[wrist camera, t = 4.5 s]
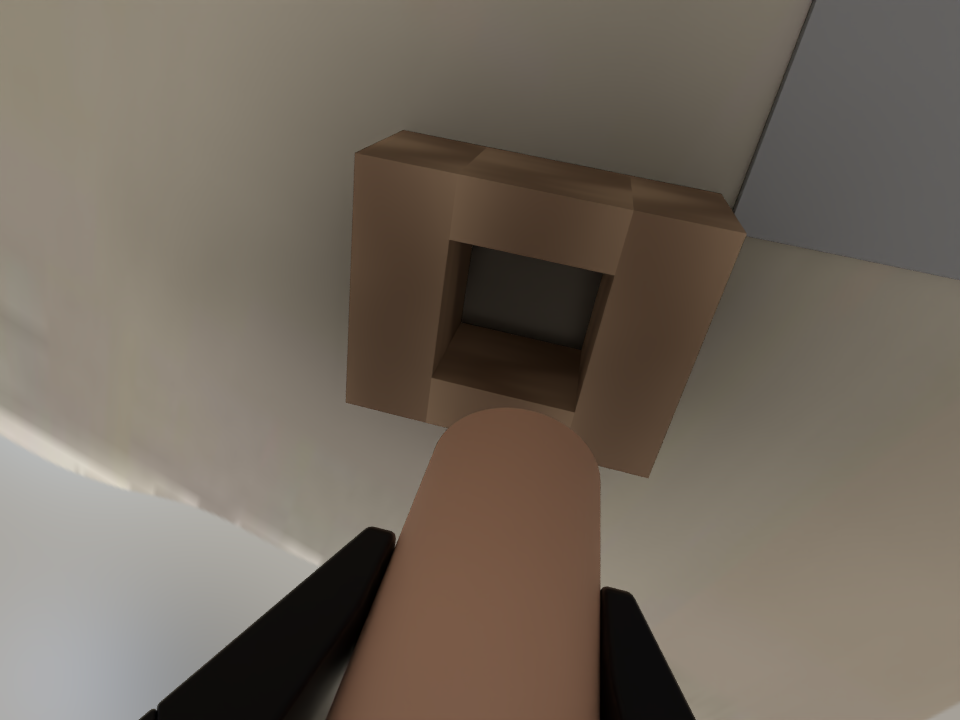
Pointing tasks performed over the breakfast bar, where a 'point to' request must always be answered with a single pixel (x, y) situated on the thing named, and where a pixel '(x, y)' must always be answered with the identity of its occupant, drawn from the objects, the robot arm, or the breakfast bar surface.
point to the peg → (489, 584)
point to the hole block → (542, 235)
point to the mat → (865, 138)
